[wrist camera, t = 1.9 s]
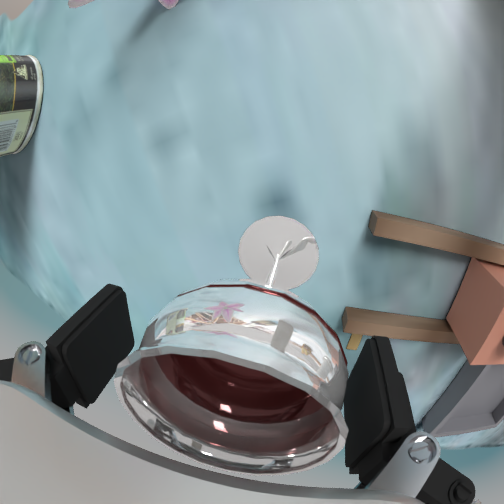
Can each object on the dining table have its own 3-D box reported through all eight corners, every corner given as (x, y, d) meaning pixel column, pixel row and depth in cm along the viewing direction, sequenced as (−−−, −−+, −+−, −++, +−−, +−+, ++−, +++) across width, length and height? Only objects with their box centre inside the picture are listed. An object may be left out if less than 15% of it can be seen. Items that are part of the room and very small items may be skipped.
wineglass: (244, 183, 16) (110, 290, 5) (352, 228, 16) (407, 403, 5) (212, 277, 19) (116, 424, 8) (305, 316, 19) (283, 487, 8)
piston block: (514, 266, 13) (559, 311, 8) (489, 322, 15) (521, 374, 10) (472, 255, 14) (520, 306, 9) (445, 318, 16) (476, 378, 11)
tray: (543, 339, 15) (553, 354, 12) (490, 412, 20) (495, 427, 17) (480, 337, 16) (491, 357, 14) (421, 419, 21) (425, 438, 19)
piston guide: (532, 254, 13) (542, 262, 11) (481, 357, 17) (487, 368, 16) (372, 210, 15) (377, 217, 14) (332, 346, 19) (332, 360, 18)
